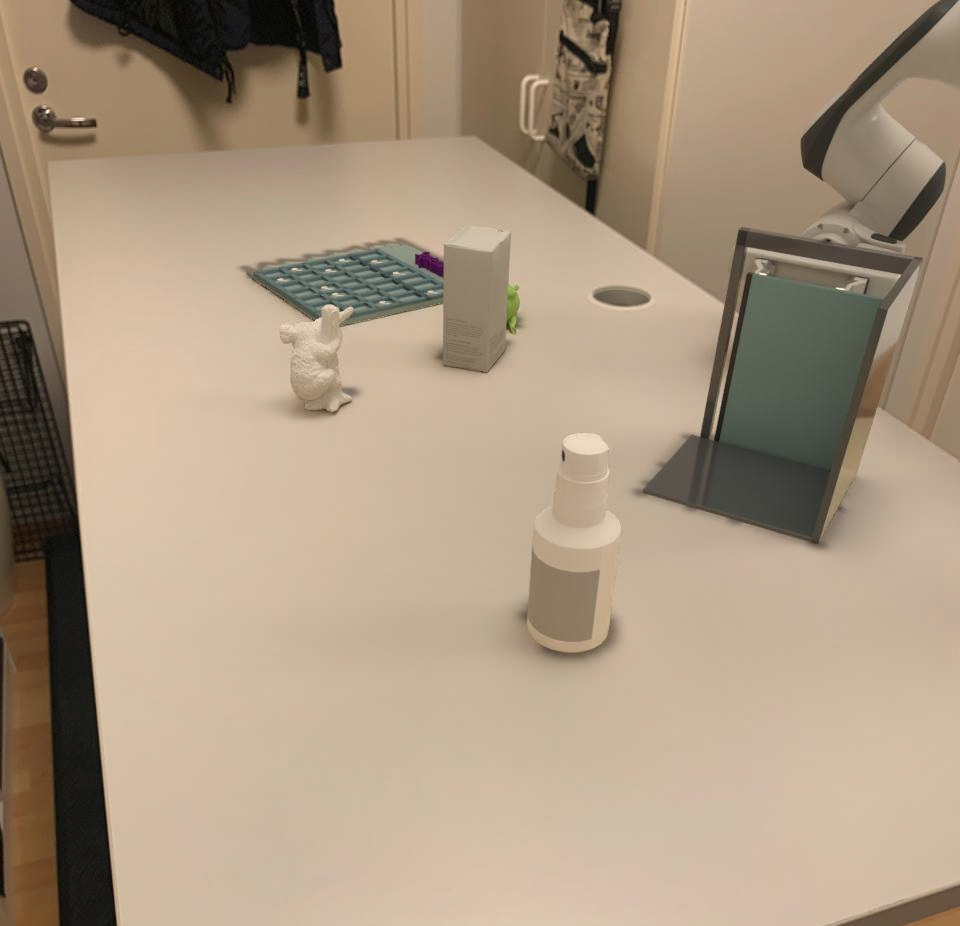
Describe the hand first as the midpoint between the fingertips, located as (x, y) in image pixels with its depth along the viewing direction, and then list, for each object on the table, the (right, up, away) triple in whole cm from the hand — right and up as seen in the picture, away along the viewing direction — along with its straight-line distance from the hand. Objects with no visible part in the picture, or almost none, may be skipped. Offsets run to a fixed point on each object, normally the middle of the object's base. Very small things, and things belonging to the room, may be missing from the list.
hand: (798, 288), depth 108 cm
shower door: (-3, -19, -3) cm, 20 cm away
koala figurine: (-55, -13, +4) cm, 57 cm away
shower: (-8, -25, -10) cm, 28 cm away
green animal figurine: (-34, +4, +26) cm, 43 cm away
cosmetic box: (-37, -3, +16) cm, 41 cm away
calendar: (-54, +15, +38) cm, 68 cm away
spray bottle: (-29, -40, -29) cm, 57 cm away
